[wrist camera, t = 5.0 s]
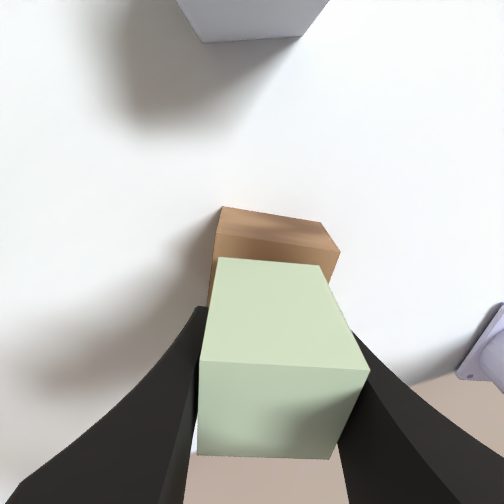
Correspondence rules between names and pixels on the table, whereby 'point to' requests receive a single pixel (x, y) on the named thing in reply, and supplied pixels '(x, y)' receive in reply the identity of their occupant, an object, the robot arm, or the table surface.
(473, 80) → the table surface
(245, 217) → the walnut plinth
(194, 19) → the slate block
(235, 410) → the sage block
